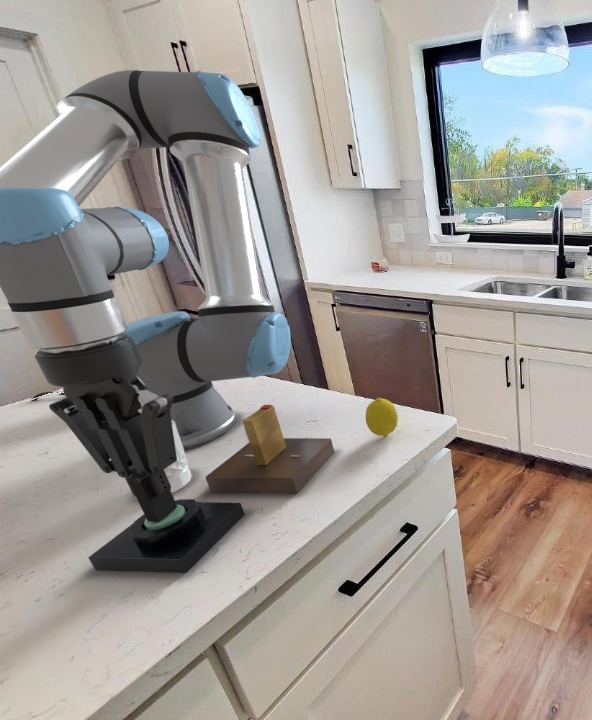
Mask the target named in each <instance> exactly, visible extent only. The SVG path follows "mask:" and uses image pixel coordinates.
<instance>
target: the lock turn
mask: <svg viewBox="0 0 592 720" xmlns="http://www.w3.org/2000/svg"><path fill="white" fill-rule="evenodd" d="M241 422H242V424H243V427H244V430H245V433H246V437H247V440H248V443H250V446H251V448H252V451H253V454H254V457H255V460H256V463H257V465H267V464H268V463H269V462H271V461H272V460H273V459H274V458H275V457H276V456H277V455H278V454H280V453H281V452H282V451H283V450H284V449H285V448H286V445H285V442H284V438H285V437H284V435H283V432H282V428H281V426H280V422H279V418H278V415H277V412H276V409H275V406H274V405H272V404H263V405H262V406H260V407H259V409H258V410H256V411H254V412H253V413H252V414H250V415H249V416H248V417H246V418H245V419H243V420H242V421H241Z"/></svg>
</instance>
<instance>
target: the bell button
mask: <svg viewBox="0 0 592 720" xmlns="http://www.w3.org/2000/svg"><path fill="white" fill-rule="evenodd" d="M185 514H186V511H185V509H184V507H183V506H182V505H177V508H176V509H174V510H173V511H172V512H171V513H169V514H168V515H167V516H166V517H164V518H163V519H162V520H161V521H159V522H148V521H147V519H146V520H145V522H144V525H145V527H146V529H147V530H157V529H160V528H164V527H167V526H169V525H171V524H173V523H175V522H177V521H178V520H179V519H181V518H182V517H183V516H184V515H185Z"/></svg>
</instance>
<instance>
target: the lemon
mask: <svg viewBox="0 0 592 720" xmlns="http://www.w3.org/2000/svg"><path fill="white" fill-rule="evenodd" d="M398 422H399V415H398V412H397V410H396V406H395V405H394V403H392V402H391V401H390V400H388V399H386V398H381V397H376V399H374V400H372V401H371V402H370V403H369V404H368V406H367V407H366V410H365V423H366V426H367V428H368V430H369V431H370V432H371V433H373V434H374V435H376V436H380V437H384V438H386V437H388V436H389V435H390V434H391V433H393V432H394V431H395V429H396V428H397V426H398Z"/></svg>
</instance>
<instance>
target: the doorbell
mask: <svg viewBox="0 0 592 720" xmlns="http://www.w3.org/2000/svg"><path fill="white" fill-rule="evenodd" d="M175 502H176V505H182V506H183V507H184V509H185V511H186V514H185V515H184V516H183V517H182V518H181V519H179V520H178V521H177V522H175V523H173V524H171V525H169V526H167V527H164V528H160V529H157V530H147V529H146V527H145V525H144V522H145V520H146V517H145V514H144V513H143V514H142V515H141V516H140V517H138V518H137V519H135V520H134V521H133V523H131V524H130V525H129V526H127V527H126V528H125V529H124V530H122V531H121V532H119V533H118V534H117V535H116V536H115V537H113V538H112V539H110V540H109V541H108V542H106V543H105V544H104V545H103V546H101V547H100V548H99V549H97V550H96V551H95V552H92V554H90V555H89V556H88V560H89V561H90V563H91V565H92V567H93V569H94V570H95V571H97V572H98V571H101V572H102V571H103V572H133V573H134V572H135V573H137V572H138V573H167V574H168V573H169V574H171V573H172V574H187V573H188V572H190V571H191V569H192V568H193V567H194V566H195V565H196V564H198V563H199V561H200V560H201V559H203V557H204V556H205V555H206V554H208V552H209V551H210V550H211V549H212V548H213V547H215V545H216V544H218V543H219V541H220V540H221V539H223V538H224V536H225V535H227V533H228V532H230V531H231V530H232V528H233V527H235V526H236V525H237V523H238V522H239V521H240V520H242V518H243V517H245V515H246V513H245V511H244V508H243V505H242V503H241V502H219V501H218V502H217V501H216V502H215V501H211V502H210V501H209V502H208V501H196V499H193V498H192V499H189V498H180V499H176V500H175Z"/></svg>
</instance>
